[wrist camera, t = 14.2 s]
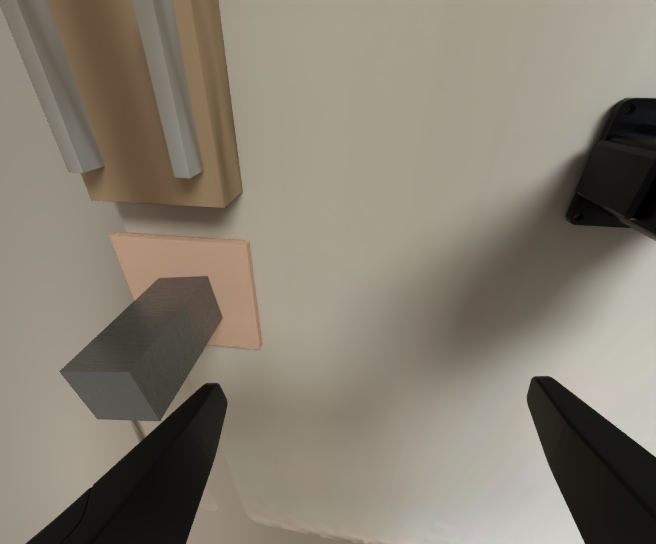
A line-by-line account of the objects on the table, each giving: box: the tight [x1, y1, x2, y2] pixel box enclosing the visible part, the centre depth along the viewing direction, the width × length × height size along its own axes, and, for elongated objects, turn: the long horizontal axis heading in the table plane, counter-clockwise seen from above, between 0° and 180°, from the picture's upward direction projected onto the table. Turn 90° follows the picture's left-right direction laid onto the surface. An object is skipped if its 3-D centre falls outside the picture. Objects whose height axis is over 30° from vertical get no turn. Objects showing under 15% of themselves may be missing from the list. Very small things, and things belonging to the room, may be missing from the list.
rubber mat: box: [110, 232, 262, 350], centre depth 24 cm, size 10×10×1 cm
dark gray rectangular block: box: [60, 276, 223, 421], centre depth 20 cm, size 5×4×9 cm
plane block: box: [0, 0, 243, 208], centre depth 15 cm, size 8×11×4 cm
